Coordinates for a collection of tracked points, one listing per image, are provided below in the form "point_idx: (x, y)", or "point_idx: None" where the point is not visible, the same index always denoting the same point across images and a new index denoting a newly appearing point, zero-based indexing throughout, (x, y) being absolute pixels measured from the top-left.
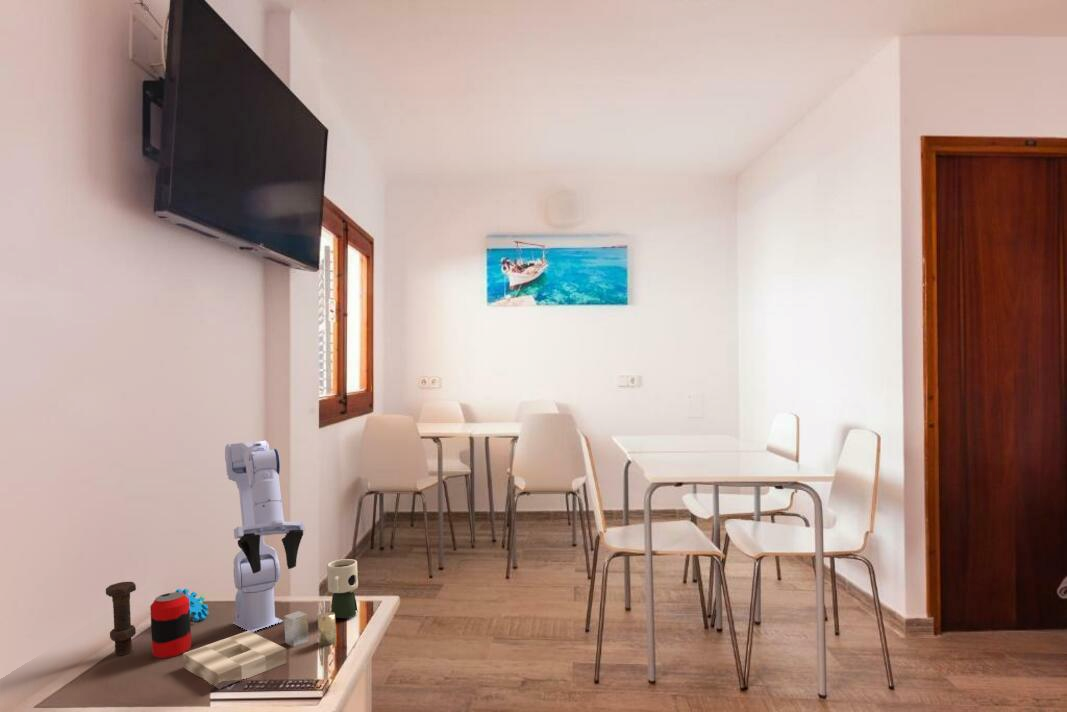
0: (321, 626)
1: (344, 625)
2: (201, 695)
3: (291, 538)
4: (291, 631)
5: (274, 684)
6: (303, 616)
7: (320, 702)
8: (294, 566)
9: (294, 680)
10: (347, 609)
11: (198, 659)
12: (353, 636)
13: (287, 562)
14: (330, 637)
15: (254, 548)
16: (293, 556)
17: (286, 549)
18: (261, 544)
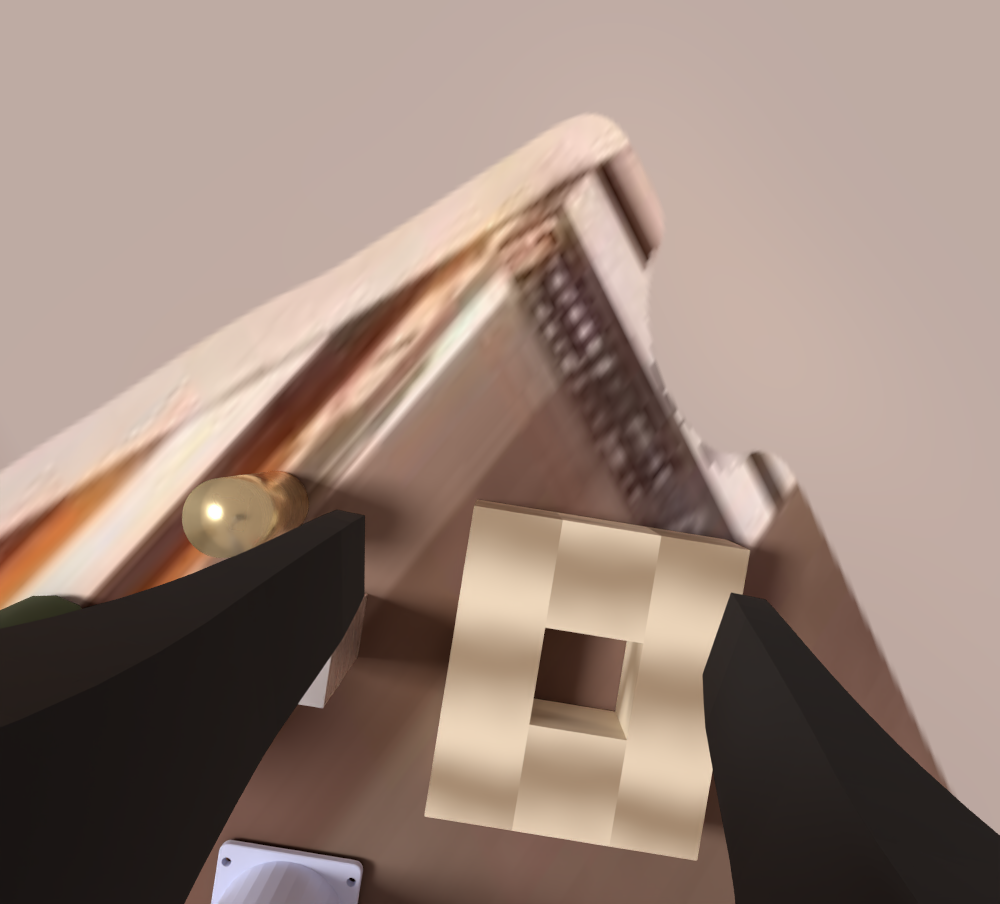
0: (277, 507)
1: (126, 571)
2: (777, 560)
3: (106, 760)
4: (350, 624)
5: (610, 395)
6: None
7: (624, 143)
8: (349, 513)
9: (557, 355)
10: (41, 615)
11: (704, 746)
12: (190, 449)
13: (333, 641)
14: (276, 474)
15: (960, 816)
16: (306, 551)
17: (233, 774)
18: None
